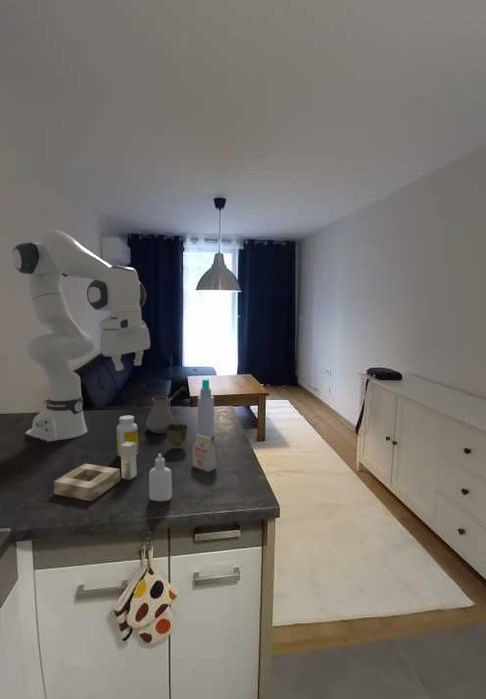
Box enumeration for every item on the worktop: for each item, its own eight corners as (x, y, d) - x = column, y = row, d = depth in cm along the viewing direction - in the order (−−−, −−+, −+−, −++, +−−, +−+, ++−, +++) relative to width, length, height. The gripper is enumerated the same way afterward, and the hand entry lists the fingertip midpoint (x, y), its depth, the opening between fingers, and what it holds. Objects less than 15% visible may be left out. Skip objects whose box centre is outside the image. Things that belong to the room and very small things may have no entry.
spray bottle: (206, 440, 142) (206, 382, 139) (194, 437, 146) (194, 380, 143) (217, 436, 147) (217, 379, 144) (205, 432, 150) (205, 377, 148)
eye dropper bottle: (159, 491, 104) (158, 449, 102) (174, 497, 101) (173, 453, 99) (147, 498, 100) (145, 454, 99) (162, 505, 97) (161, 459, 96)
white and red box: (200, 462, 123) (199, 432, 122) (215, 468, 119) (215, 437, 118) (191, 466, 120) (191, 435, 119) (207, 472, 116) (207, 440, 115)
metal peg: (121, 478, 112) (120, 445, 111) (127, 473, 115) (126, 441, 113) (130, 479, 111) (129, 446, 110) (136, 475, 114) (135, 442, 112)
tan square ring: (54, 493, 103) (53, 481, 102) (85, 474, 114) (84, 463, 113) (91, 501, 99) (91, 488, 98) (120, 480, 110) (119, 469, 110)
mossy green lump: (183, 453, 130) (182, 430, 129) (162, 451, 132) (162, 428, 131) (190, 445, 137) (190, 423, 136) (171, 443, 139) (170, 422, 138)
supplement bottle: (142, 452, 131) (141, 415, 129) (130, 459, 125) (129, 421, 123) (125, 449, 133) (124, 413, 132) (113, 456, 127) (111, 419, 125)
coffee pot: (161, 437, 146) (161, 398, 144) (139, 431, 151) (138, 394, 149) (196, 421, 164) (195, 387, 162) (175, 417, 170) (174, 384, 168)
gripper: (136, 320, 124) (139, 362, 126) (94, 323, 105) (98, 373, 107) (153, 319, 123) (156, 362, 124) (114, 323, 103) (117, 373, 105)
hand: (129, 367), depth 115 cm, fingers open, 8 cm apart
